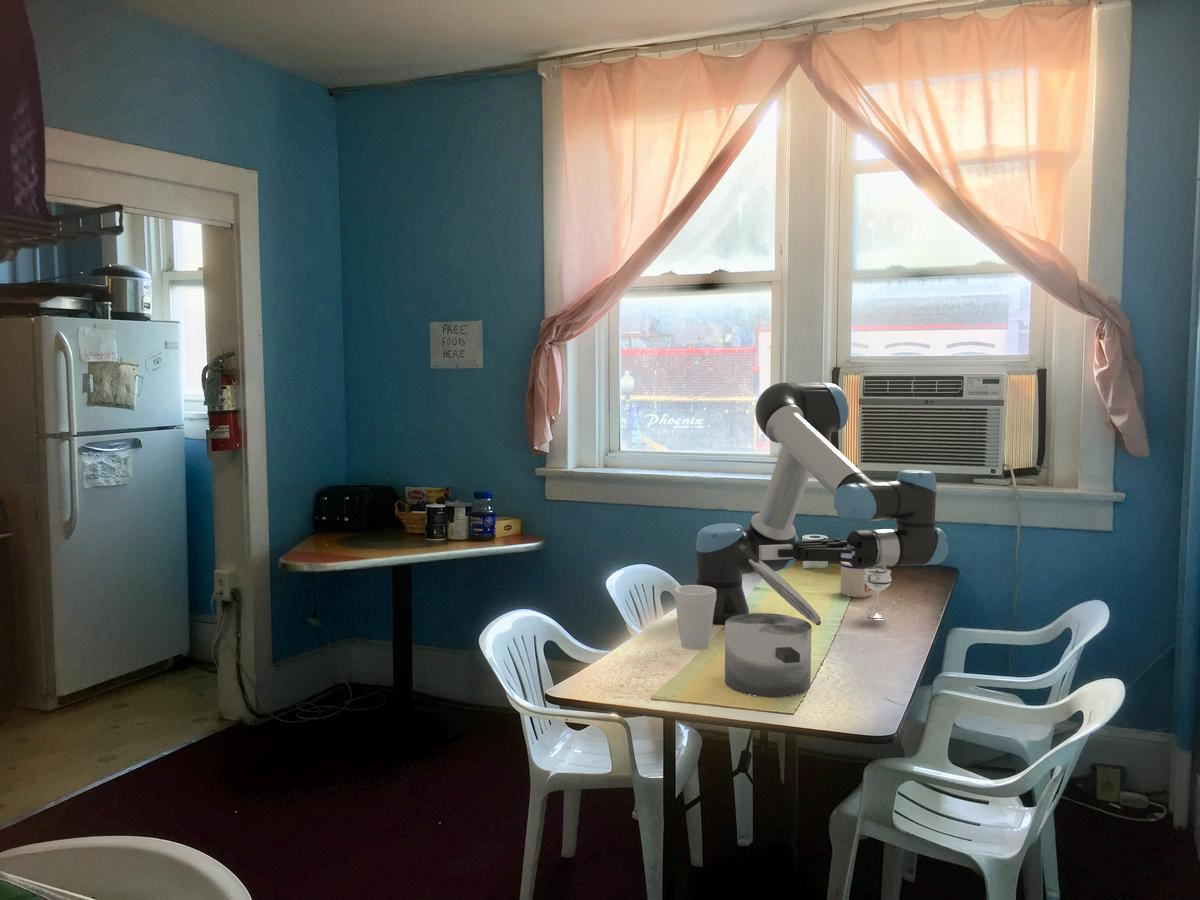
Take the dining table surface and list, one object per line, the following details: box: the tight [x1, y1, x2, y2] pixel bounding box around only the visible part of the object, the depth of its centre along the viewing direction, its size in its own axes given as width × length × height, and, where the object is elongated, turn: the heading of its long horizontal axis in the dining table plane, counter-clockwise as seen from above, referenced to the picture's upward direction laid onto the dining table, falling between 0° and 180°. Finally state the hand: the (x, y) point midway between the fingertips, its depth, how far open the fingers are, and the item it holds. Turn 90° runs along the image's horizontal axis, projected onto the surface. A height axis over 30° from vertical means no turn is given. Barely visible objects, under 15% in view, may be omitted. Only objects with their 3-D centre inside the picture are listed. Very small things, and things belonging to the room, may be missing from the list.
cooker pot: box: [724, 612, 812, 698], centre depth 186 cm, size 17×26×12 cm, turn 10°
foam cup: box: [674, 584, 716, 651], centre depth 211 cm, size 10×9×13 cm
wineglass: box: [864, 567, 892, 618], centre depth 236 cm, size 7×7×12 cm
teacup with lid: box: [839, 561, 874, 598], centre depth 262 cm, size 12×9×12 cm
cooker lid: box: [738, 544, 822, 626], centre depth 185 cm, size 22×18×1 cm
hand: (760, 552), depth 184 cm, fingers closed
